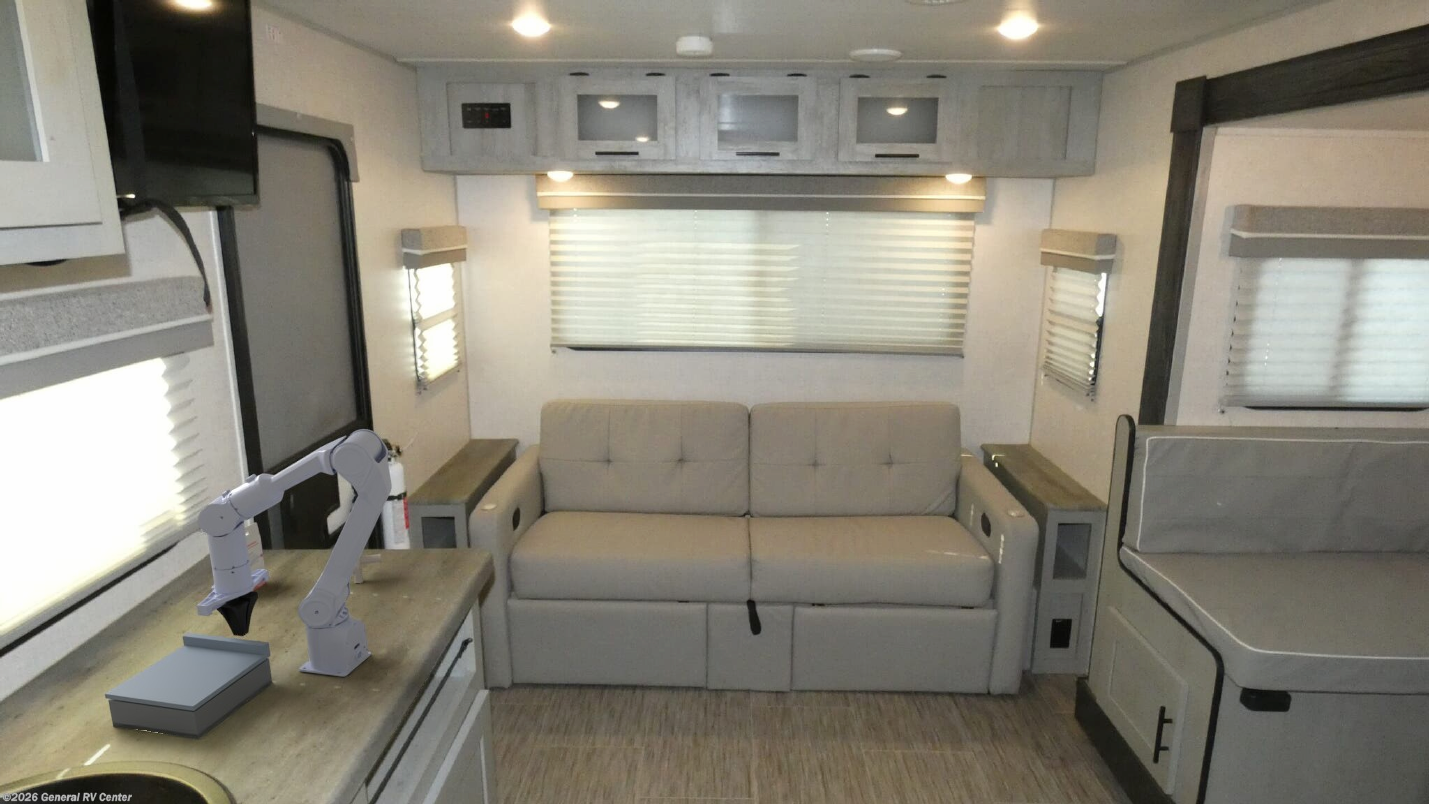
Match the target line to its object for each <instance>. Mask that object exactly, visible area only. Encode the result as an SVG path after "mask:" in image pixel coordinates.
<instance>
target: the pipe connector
mask: <svg viewBox="0 0 1429 804" xmlns="http://www.w3.org/2000/svg"><path fill="white" fill-rule="evenodd" d="M364 553H365V552H364V551H363V552H362V554H361V556H360V558H359V560H358V562H357V565H356V567H355V569H354V571H353V579H354V584H355V583H360V584H362V583H363V582H364V575H363V565H367V564H368V565H369V564H377V563H382V554H381V553H378V554H370V555H364Z"/></svg>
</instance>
